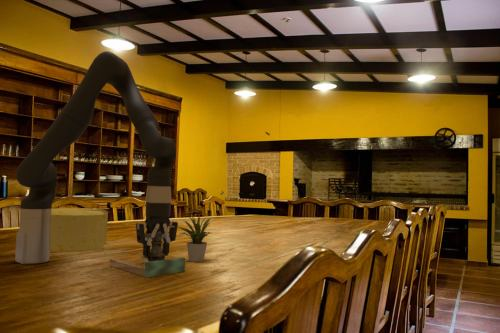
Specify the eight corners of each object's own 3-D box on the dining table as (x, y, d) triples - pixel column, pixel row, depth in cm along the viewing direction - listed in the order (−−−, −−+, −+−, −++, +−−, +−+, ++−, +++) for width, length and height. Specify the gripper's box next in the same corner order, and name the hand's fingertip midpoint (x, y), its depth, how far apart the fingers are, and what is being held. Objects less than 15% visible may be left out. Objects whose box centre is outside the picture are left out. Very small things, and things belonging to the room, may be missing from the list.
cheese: (122, 246, 175) (123, 210, 175) (65, 254, 153) (67, 212, 153) (82, 240, 189) (83, 207, 189) (24, 247, 167) (26, 209, 167)
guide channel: (147, 277, 119) (148, 263, 120) (109, 265, 134) (110, 253, 134) (184, 271, 129) (185, 258, 129) (145, 261, 144) (145, 249, 144)
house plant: (194, 255, 159) (195, 211, 159) (224, 259, 151) (226, 213, 152) (168, 260, 146) (170, 213, 147) (200, 265, 139) (202, 215, 140)
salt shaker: (163, 268, 125) (164, 228, 126) (143, 268, 125) (145, 227, 126) (167, 265, 131) (169, 226, 132) (148, 264, 131) (150, 225, 132)
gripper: (145, 201, 121) (142, 260, 121) (184, 201, 132) (182, 255, 131) (131, 200, 126) (128, 257, 126) (170, 200, 137) (168, 252, 136)
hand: (156, 256), depth 128 cm, fingers closed on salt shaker, 6 cm apart
